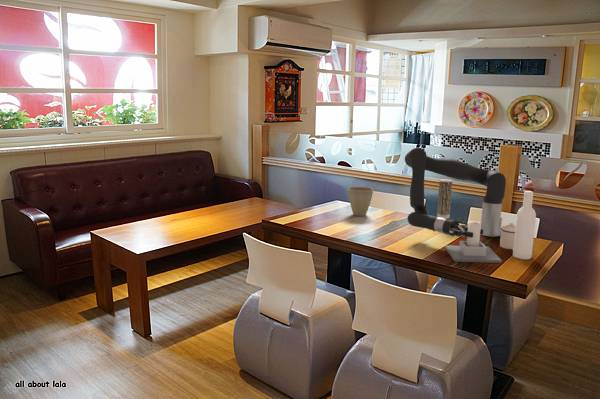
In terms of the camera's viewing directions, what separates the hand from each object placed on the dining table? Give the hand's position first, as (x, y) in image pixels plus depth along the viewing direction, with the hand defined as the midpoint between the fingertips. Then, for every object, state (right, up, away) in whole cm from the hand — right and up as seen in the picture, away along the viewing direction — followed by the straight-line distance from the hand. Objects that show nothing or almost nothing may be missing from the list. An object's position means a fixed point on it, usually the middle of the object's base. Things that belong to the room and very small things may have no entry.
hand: (477, 233), depth 223 cm
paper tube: (+1, +1, +58) cm, 58 cm away
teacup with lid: (+22, -7, +18) cm, 29 cm away
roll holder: (-1, -10, +4) cm, 11 cm away
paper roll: (-1, -9, +3) cm, 10 cm away
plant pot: (-44, +6, +77) cm, 89 cm away
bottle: (+21, -11, +2) cm, 23 cm away
